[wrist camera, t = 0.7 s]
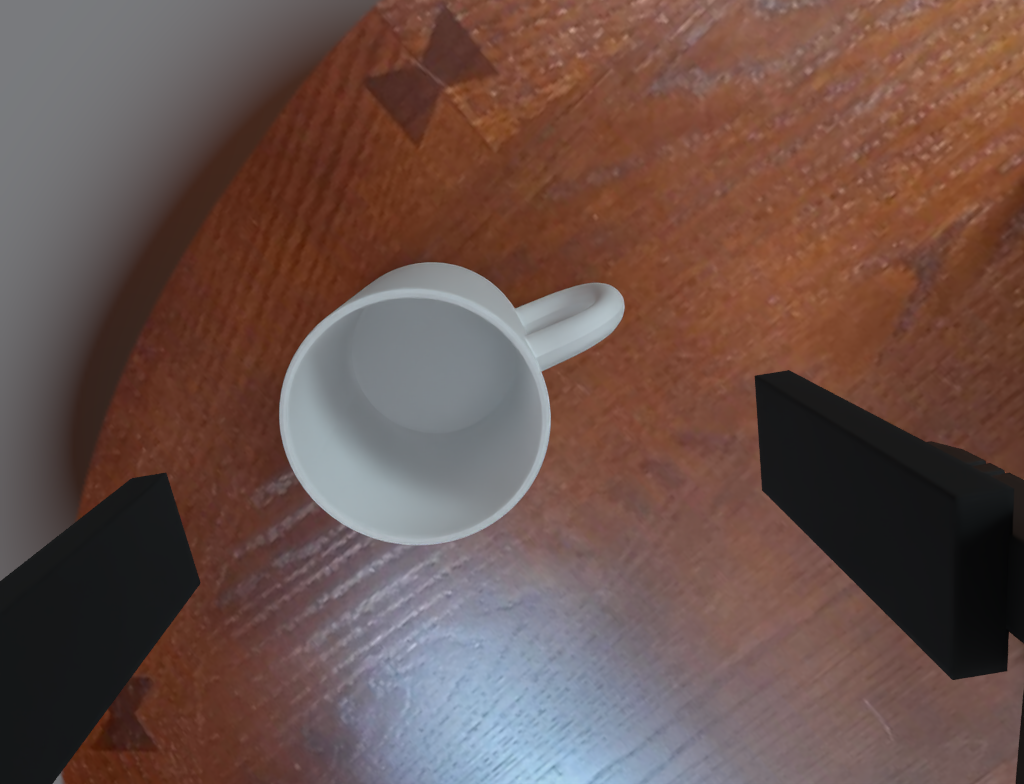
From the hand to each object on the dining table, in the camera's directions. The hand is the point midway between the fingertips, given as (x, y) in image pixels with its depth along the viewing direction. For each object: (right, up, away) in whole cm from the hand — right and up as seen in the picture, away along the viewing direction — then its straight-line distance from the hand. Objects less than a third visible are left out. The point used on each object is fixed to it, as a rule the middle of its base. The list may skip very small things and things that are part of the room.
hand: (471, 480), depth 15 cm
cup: (-1, +5, +16) cm, 16 cm away
